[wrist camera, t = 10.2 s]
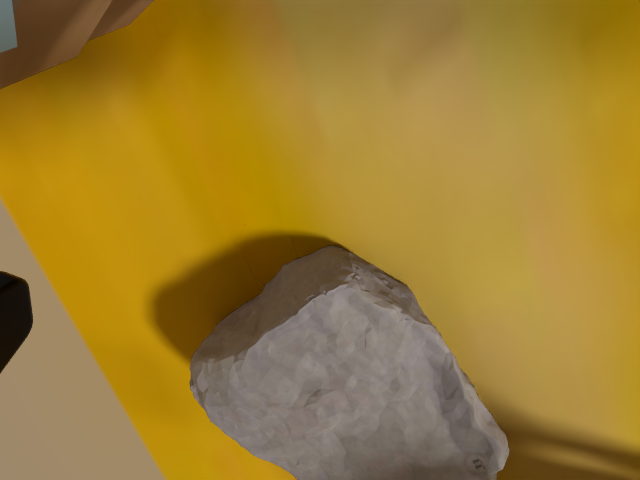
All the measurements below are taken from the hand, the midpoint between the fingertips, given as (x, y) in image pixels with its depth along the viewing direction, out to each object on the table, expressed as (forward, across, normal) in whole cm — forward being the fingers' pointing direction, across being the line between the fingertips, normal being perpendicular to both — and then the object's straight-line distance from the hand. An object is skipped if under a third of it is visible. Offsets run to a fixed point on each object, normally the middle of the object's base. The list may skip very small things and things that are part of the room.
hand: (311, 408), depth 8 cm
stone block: (+14, 0, +12) cm, 18 cm away
